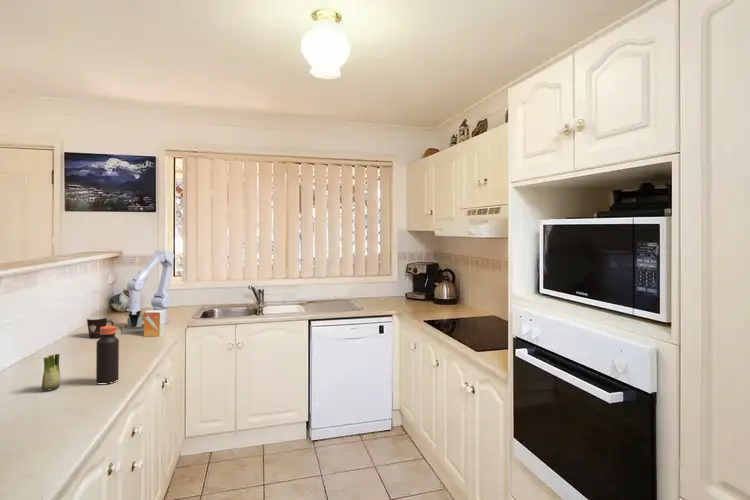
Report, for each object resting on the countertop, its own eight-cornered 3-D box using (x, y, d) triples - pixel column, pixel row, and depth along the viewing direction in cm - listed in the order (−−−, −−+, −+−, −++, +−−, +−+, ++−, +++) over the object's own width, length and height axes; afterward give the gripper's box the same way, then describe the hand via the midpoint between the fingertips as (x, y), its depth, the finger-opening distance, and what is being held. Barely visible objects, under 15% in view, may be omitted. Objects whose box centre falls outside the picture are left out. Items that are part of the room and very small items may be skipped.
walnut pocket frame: (122, 327, 232) (123, 325, 232) (147, 325, 238) (147, 323, 238) (121, 330, 224) (121, 328, 224) (146, 328, 230) (146, 326, 230)
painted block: (127, 328, 231) (127, 317, 231) (141, 327, 234) (142, 316, 234) (127, 329, 228) (127, 318, 227) (141, 328, 231) (141, 318, 231)
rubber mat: (122, 330, 224) (122, 329, 224) (145, 329, 229) (145, 328, 229) (121, 334, 217) (121, 333, 217) (145, 332, 222) (145, 331, 222)
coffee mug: (82, 338, 207) (82, 318, 206) (99, 334, 215) (99, 315, 214) (98, 340, 202) (98, 320, 202) (114, 337, 210) (114, 317, 210)
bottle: (101, 386, 143) (102, 330, 142) (92, 382, 146) (92, 327, 146) (122, 381, 148) (122, 326, 148) (112, 377, 152) (113, 324, 151)
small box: (143, 336, 212) (143, 312, 212) (148, 334, 218) (148, 310, 218) (159, 336, 213) (160, 312, 213) (164, 334, 219) (164, 310, 219)
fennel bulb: (58, 385, 143) (58, 351, 142) (64, 388, 140) (65, 354, 140) (38, 390, 138) (38, 355, 137) (44, 393, 135) (44, 358, 135)
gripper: (127, 299, 235) (127, 323, 235) (125, 303, 222) (125, 328, 222) (141, 299, 238) (141, 322, 239) (140, 303, 225) (140, 327, 226)
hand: (134, 325), depth 231 cm, fingers open, 7 cm apart
